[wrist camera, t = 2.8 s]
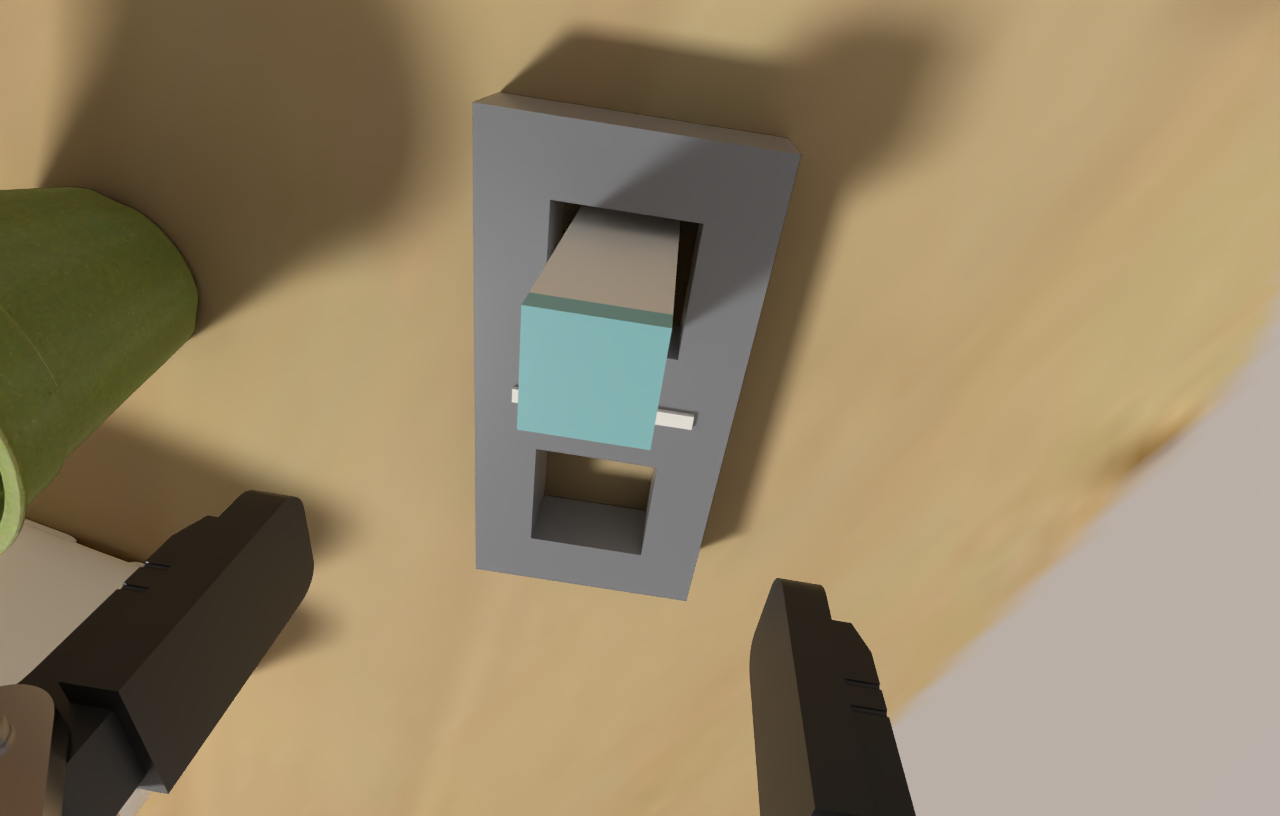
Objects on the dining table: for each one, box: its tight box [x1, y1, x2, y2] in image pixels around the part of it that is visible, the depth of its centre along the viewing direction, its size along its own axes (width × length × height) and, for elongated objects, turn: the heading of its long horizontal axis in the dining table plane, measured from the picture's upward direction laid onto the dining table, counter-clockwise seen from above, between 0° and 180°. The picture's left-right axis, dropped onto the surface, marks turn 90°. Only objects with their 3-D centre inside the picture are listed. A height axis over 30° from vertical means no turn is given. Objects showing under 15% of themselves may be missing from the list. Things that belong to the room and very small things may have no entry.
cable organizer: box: [0, 519, 152, 816], centre depth 33 cm, size 15×11×12 cm
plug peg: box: [517, 205, 680, 450], centre depth 20 cm, size 4×4×10 cm
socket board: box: [472, 92, 801, 601], centre depth 25 cm, size 20×10×3 cm, turn 172°
